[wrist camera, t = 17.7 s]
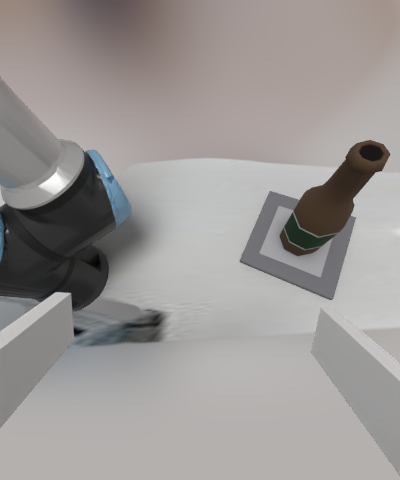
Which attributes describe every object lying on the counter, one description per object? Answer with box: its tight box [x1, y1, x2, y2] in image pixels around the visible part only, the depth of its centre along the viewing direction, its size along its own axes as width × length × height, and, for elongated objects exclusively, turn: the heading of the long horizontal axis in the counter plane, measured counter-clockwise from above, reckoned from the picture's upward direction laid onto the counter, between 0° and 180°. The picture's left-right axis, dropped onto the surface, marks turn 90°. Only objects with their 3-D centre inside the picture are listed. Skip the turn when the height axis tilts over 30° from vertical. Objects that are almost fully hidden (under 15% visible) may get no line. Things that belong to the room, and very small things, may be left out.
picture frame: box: [240, 191, 356, 300], centre depth 43 cm, size 18×18×1 cm
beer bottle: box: [280, 140, 390, 256], centre depth 32 cm, size 8×8×24 cm
